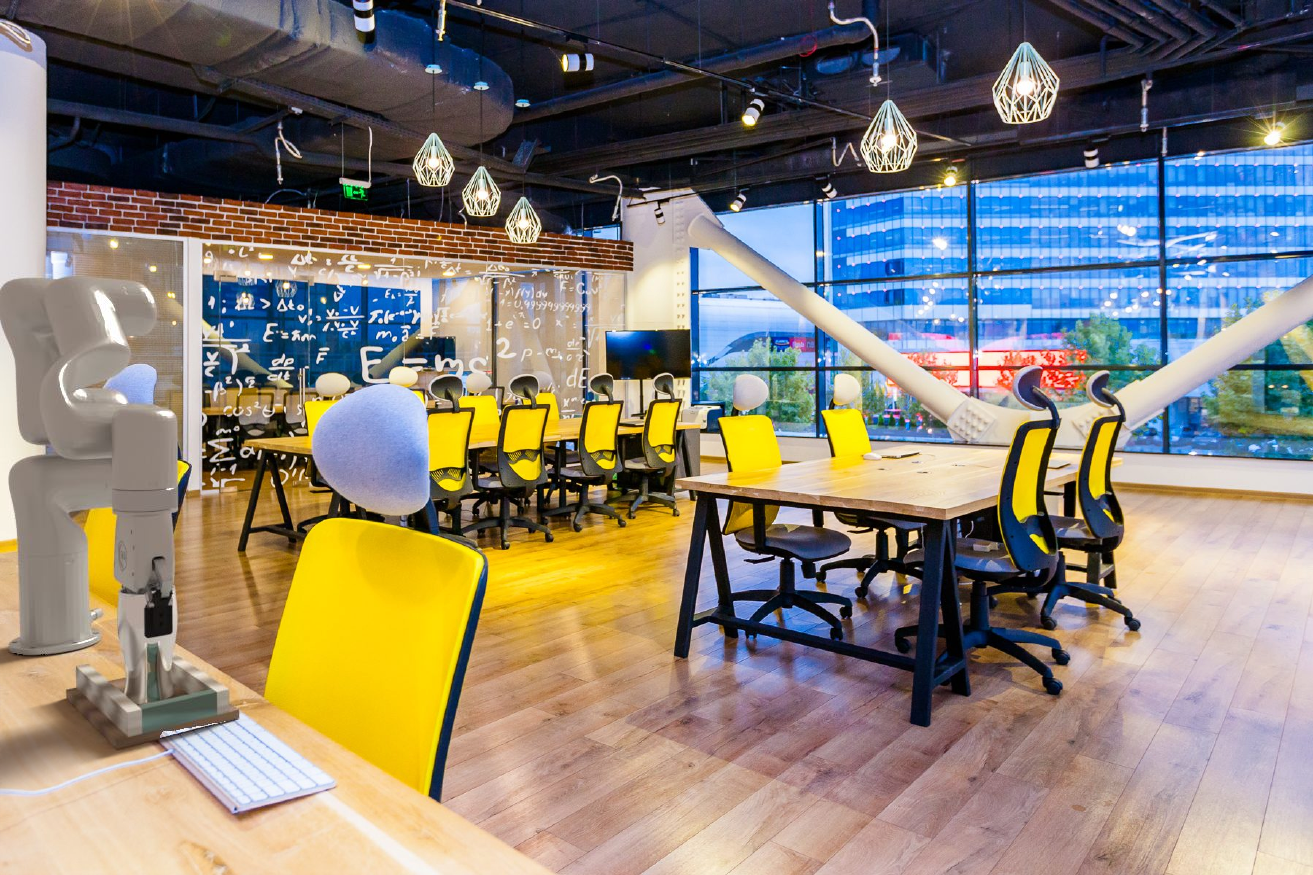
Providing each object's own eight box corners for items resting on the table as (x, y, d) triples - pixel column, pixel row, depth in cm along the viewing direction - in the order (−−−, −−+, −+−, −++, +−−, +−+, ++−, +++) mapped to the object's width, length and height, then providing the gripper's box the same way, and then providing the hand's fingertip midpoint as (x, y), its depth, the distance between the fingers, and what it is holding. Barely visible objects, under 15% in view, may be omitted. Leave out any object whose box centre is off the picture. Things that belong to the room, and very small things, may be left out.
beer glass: (190, 694, 118) (188, 586, 117) (141, 711, 112) (139, 597, 111) (156, 686, 121) (154, 580, 120) (106, 702, 115) (104, 590, 114)
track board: (66, 698, 120) (65, 668, 119) (176, 674, 130) (176, 647, 130) (117, 749, 103) (116, 715, 103) (239, 718, 113) (238, 686, 113)
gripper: (94, 494, 118) (96, 617, 120) (133, 512, 106) (135, 649, 108) (156, 490, 124) (156, 608, 125) (199, 507, 112) (199, 637, 113)
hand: (146, 627), depth 116 cm, fingers open, 9 cm apart
